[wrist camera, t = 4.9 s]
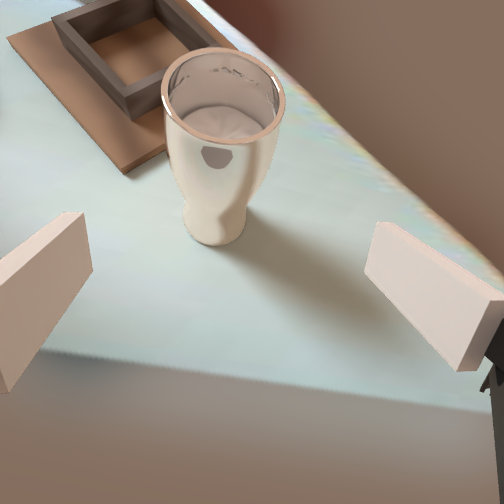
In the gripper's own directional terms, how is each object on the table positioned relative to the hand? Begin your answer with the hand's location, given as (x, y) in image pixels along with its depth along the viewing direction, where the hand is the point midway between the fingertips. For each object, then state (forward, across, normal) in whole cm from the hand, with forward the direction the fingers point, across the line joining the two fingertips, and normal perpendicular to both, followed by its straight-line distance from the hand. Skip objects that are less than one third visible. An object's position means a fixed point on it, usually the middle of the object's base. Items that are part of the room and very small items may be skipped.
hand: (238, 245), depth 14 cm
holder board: (+29, -8, +9) cm, 31 cm away
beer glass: (+16, -1, -4) cm, 17 cm away
